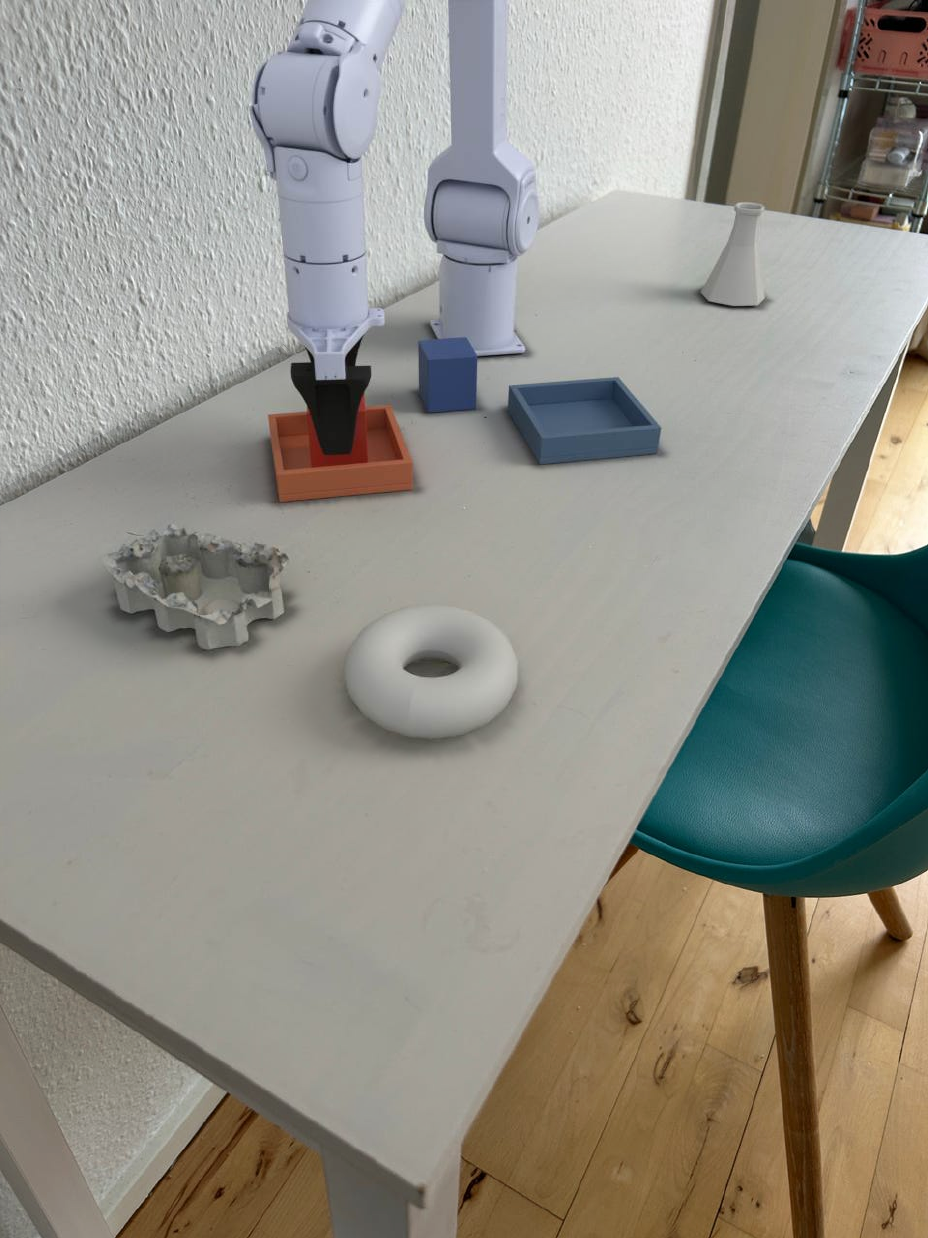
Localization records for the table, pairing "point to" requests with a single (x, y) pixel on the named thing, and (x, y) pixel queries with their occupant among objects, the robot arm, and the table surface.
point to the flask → (738, 262)
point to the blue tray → (582, 420)
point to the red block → (356, 456)
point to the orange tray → (303, 482)
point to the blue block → (447, 374)
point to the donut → (423, 699)
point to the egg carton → (199, 583)
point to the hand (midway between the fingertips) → (336, 429)
